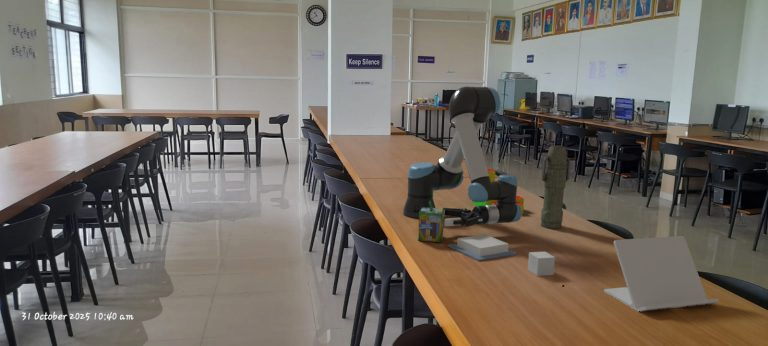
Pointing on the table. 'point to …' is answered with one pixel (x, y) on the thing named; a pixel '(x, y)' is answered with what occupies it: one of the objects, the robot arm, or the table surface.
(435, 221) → the chalk box
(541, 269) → the white cube
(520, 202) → the building blocks toy
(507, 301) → the table surface
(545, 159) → the dark piece
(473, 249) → the base block
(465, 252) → the board
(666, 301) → the tablet stand
